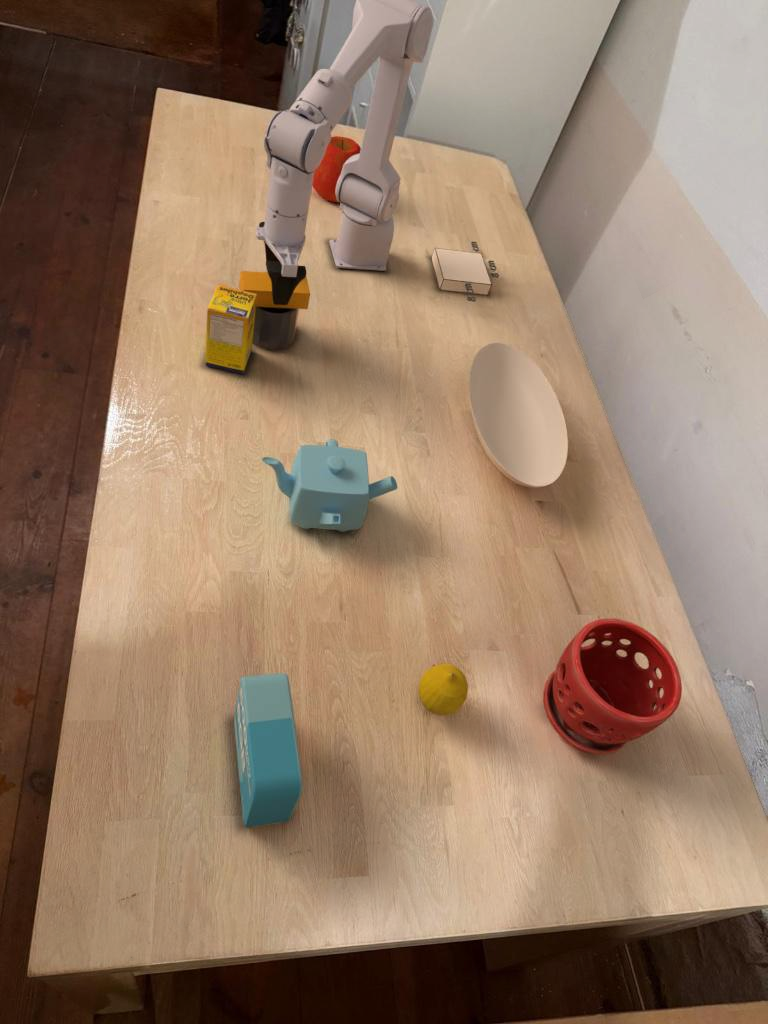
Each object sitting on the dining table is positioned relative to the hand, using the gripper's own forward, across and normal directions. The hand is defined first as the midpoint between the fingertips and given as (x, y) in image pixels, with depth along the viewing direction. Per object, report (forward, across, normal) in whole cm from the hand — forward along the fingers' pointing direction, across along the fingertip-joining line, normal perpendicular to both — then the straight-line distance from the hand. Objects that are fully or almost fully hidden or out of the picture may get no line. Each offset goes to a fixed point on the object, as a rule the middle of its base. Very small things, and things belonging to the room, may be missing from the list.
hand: (277, 286), depth 113 cm
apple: (+9, -43, +18) cm, 47 cm away
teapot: (+9, +36, +3) cm, 37 cm away
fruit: (+9, +64, +12) cm, 66 cm away
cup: (+9, 0, 0) cm, 9 cm away
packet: (+2, 0, 0) cm, 2 cm away
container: (+9, -18, +39) cm, 44 cm away
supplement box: (+9, +6, -7) cm, 13 cm away
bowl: (+9, +22, +34) cm, 42 cm away
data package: (+9, +69, -9) cm, 70 cm away
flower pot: (+9, +67, +31) cm, 74 cm away
